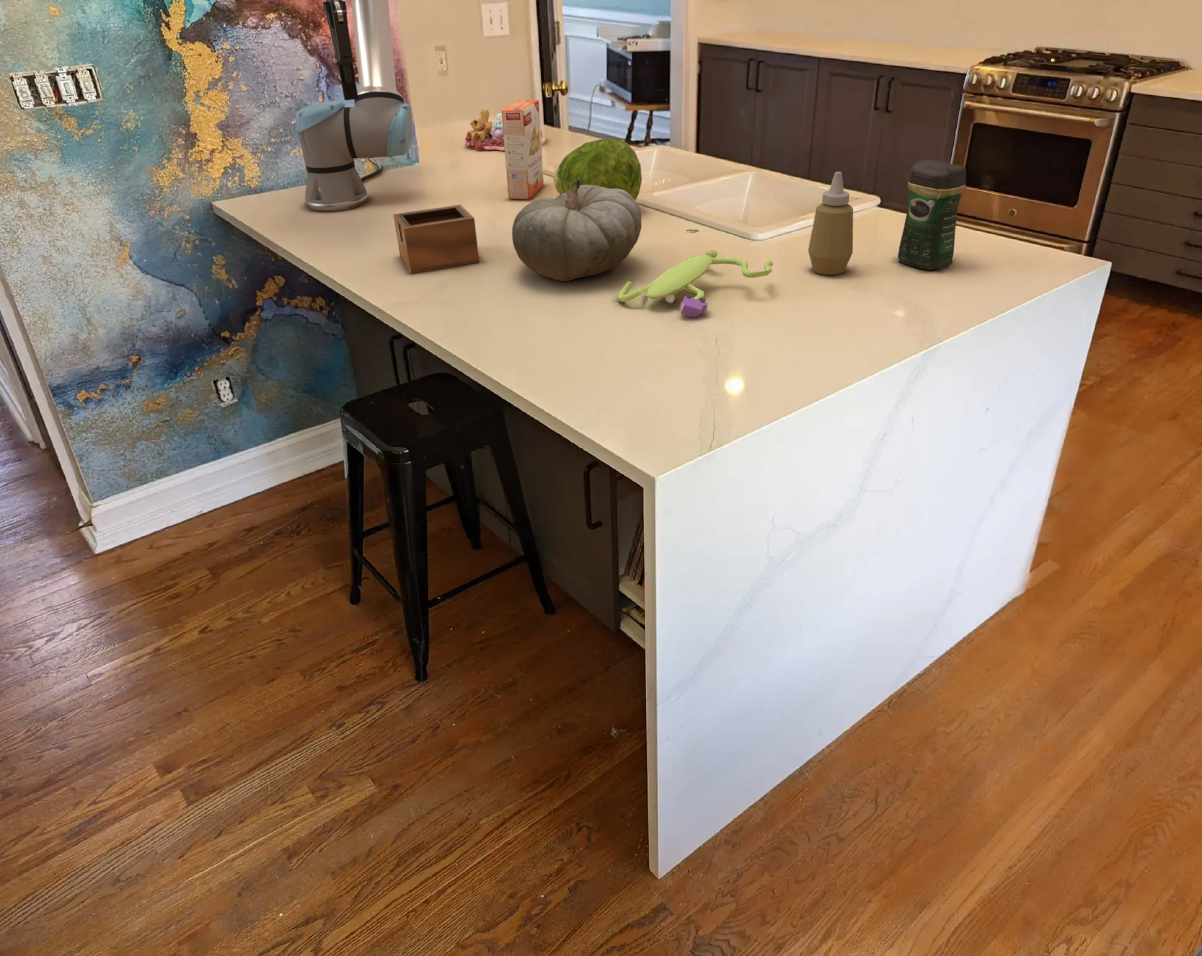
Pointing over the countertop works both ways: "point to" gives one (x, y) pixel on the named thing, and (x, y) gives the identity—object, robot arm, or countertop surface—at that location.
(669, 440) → the countertop surface
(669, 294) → the figurine
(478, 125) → the coral reef ornament
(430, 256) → the wooden storage crate
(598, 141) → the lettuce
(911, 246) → the coffee jar
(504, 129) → the cracker box
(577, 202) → the gourd
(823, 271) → the squeeze bottle
